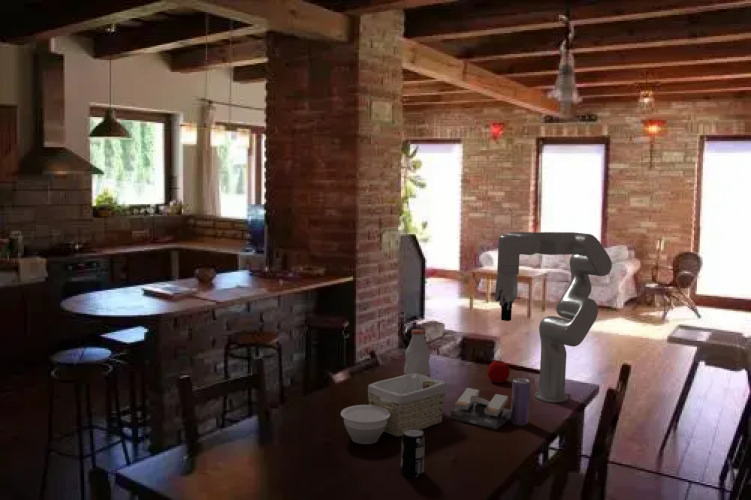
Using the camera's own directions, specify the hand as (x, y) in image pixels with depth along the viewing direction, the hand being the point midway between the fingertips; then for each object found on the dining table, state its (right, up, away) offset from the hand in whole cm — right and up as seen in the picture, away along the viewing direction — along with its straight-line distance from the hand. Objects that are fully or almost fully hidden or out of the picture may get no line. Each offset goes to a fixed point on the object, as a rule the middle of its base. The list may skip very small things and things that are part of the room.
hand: (506, 320), depth 245 cm
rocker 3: (-5, -28, -9) cm, 30 cm away
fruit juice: (-32, -32, +7) cm, 46 cm away
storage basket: (-36, -34, -13) cm, 52 cm away
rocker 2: (-10, -28, -6) cm, 30 cm away
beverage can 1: (-36, -38, -50) cm, 73 cm away
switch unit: (-10, -34, -6) cm, 36 cm away
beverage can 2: (+3, -35, -9) cm, 36 cm away
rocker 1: (-14, -27, -4) cm, 31 cm away
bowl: (-50, -36, -26) cm, 67 cm away
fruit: (+4, -29, +38) cm, 48 cm away
